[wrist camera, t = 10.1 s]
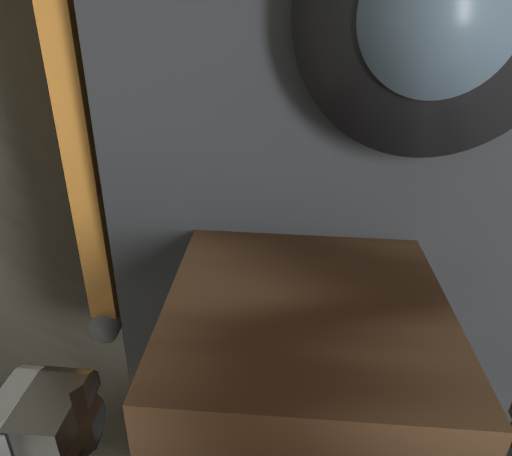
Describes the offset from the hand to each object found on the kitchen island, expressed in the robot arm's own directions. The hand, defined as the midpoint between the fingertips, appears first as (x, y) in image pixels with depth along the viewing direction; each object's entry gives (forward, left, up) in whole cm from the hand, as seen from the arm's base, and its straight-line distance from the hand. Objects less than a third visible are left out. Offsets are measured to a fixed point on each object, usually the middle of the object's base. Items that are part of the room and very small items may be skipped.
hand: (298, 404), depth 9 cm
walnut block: (0, 0, -3) cm, 3 cm away
